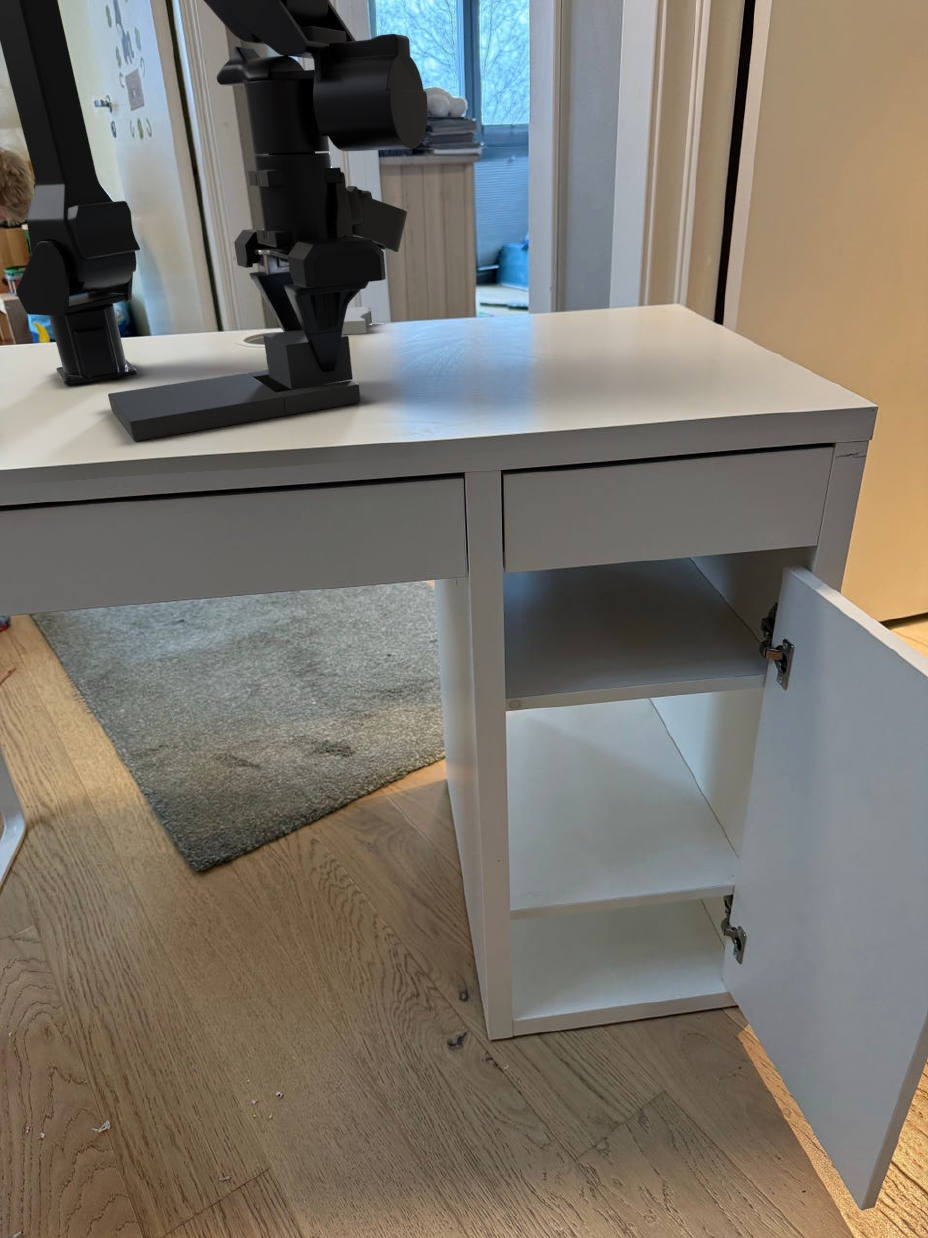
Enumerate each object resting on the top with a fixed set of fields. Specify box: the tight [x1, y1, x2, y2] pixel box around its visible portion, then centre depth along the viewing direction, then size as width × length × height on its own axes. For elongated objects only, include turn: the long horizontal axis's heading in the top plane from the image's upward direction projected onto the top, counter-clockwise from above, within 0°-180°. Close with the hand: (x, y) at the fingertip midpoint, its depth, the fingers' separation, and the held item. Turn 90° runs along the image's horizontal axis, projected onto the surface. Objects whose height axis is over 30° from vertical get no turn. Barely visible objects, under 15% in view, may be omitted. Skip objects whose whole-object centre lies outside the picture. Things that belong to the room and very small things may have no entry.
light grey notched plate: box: [342, 306, 373, 335], centre depth 100 cm, size 6×1×10 cm
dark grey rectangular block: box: [263, 330, 353, 390], centre depth 71 cm, size 5×5×4 cm
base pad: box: [107, 369, 362, 442], centre depth 70 cm, size 10×18×2 cm, turn 119°
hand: (316, 364), depth 72 cm, fingers closed on dark grey rectangular block, 5 cm apart
